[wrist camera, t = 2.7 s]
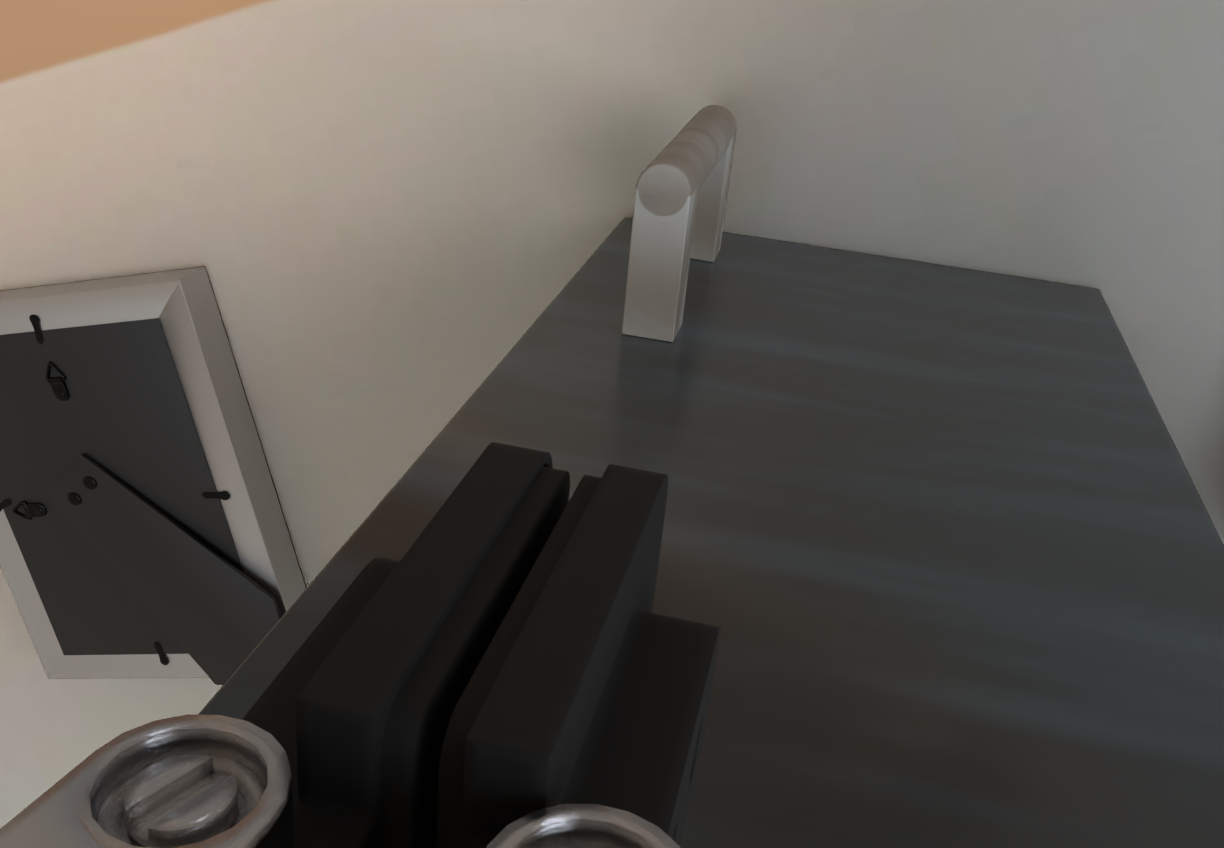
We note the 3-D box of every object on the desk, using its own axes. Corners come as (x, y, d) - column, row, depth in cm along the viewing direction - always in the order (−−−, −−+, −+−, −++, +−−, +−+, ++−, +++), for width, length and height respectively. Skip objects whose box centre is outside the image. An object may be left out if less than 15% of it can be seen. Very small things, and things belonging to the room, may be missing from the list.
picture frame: (326, 652, 60) (205, 266, 52) (301, 686, 57) (170, 285, 50) (72, 656, 64) (-75, 299, 56) (38, 687, 62) (-121, 318, 54)
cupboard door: (636, 81, 44) (-223, 694, 11) (1140, 147, 41) (2195, 1304, 8) (621, 240, 47) (-99, 1131, 13) (1093, 313, 44) (1708, 1706, 10)
